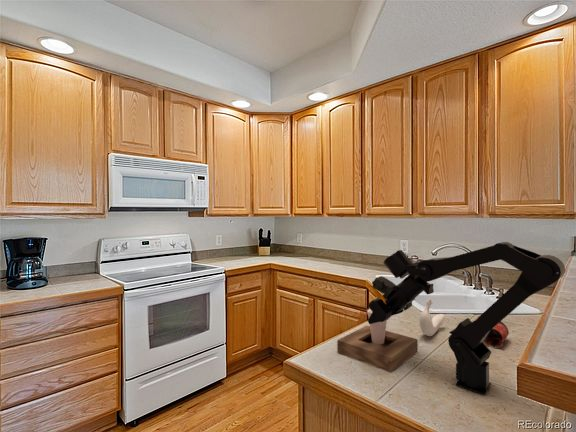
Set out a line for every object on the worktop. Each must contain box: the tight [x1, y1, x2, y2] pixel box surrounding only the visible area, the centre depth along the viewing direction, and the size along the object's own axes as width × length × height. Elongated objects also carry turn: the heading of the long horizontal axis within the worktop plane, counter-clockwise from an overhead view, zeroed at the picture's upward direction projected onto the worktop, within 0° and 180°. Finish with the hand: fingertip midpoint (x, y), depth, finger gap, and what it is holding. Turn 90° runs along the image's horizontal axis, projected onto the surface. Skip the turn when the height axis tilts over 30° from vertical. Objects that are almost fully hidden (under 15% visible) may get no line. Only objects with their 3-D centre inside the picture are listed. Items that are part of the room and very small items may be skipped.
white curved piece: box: [419, 298, 446, 337], centre depth 113 cm, size 5×19×15 cm, turn 141°
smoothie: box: [366, 296, 388, 344], centre depth 98 cm, size 6×6×14 cm
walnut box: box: [336, 325, 419, 373], centre depth 98 cm, size 18×18×4 cm
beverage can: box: [483, 321, 510, 349], centre depth 105 cm, size 7×12×7 cm, turn 136°
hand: (374, 320), depth 99 cm, fingers closed on smoothie, 6 cm apart
